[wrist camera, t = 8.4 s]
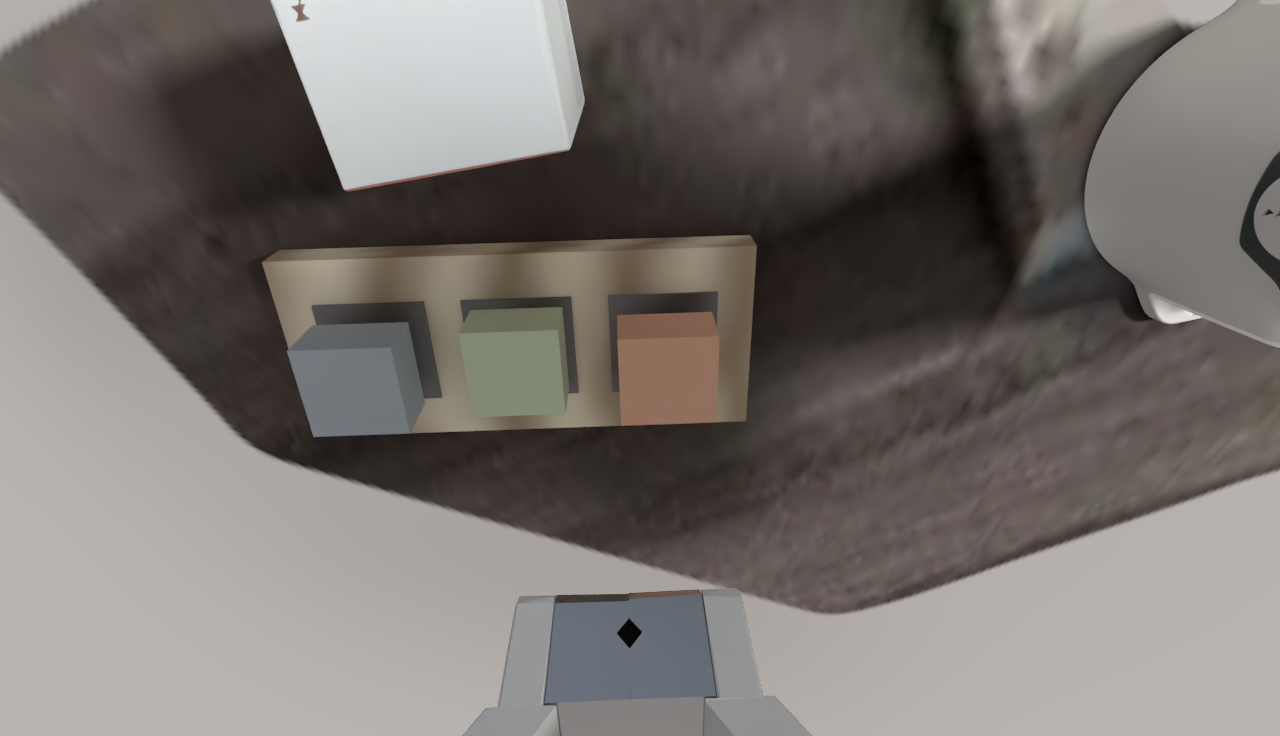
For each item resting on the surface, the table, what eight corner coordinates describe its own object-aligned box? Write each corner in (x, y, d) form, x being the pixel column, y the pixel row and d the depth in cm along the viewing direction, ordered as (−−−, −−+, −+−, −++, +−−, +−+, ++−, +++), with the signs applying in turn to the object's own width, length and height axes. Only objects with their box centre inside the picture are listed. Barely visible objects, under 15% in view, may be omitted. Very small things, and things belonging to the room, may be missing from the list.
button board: (750, 234, 37) (757, 247, 35) (740, 404, 42) (746, 422, 40) (279, 250, 36) (259, 263, 34) (328, 418, 41) (314, 438, 39)
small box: (434, 134, 34) (338, 195, 22) (390, -7, 31) (254, -20, 19) (589, 105, 33) (574, 152, 22) (561, -41, 30) (526, -75, 19)
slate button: (408, 322, 34) (390, 347, 32) (424, 403, 37) (410, 433, 34) (312, 325, 34) (286, 351, 32) (335, 406, 37) (313, 436, 34)
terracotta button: (711, 311, 35) (719, 336, 32) (709, 393, 37) (716, 422, 34) (617, 315, 35) (617, 339, 32) (621, 396, 37) (621, 425, 34)
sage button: (562, 306, 36) (557, 330, 33) (569, 386, 38) (565, 414, 36) (470, 309, 36) (458, 333, 33) (483, 389, 38) (472, 417, 35)
